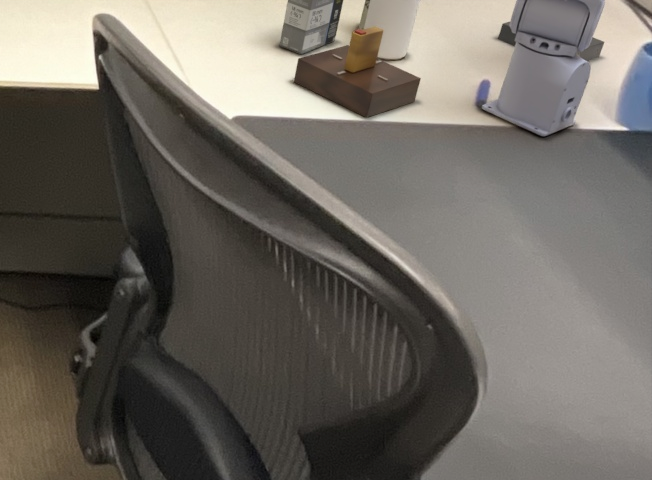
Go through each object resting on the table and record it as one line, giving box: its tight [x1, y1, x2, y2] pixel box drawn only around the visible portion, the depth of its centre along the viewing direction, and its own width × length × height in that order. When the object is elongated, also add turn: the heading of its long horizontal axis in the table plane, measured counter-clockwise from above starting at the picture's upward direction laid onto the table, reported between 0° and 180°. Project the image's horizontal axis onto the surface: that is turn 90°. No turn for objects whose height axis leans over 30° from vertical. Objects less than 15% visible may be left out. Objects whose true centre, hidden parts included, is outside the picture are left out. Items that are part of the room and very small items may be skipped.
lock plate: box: [293, 44, 421, 118], centre depth 139 cm, size 12×10×3 cm
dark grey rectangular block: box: [497, 21, 605, 62], centre depth 161 cm, size 12×9×4 cm
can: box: [364, 0, 421, 61], centre depth 148 cm, size 6×6×12 cm
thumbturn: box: [344, 27, 383, 73], centre depth 137 cm, size 5×1×5 cm, turn 135°
